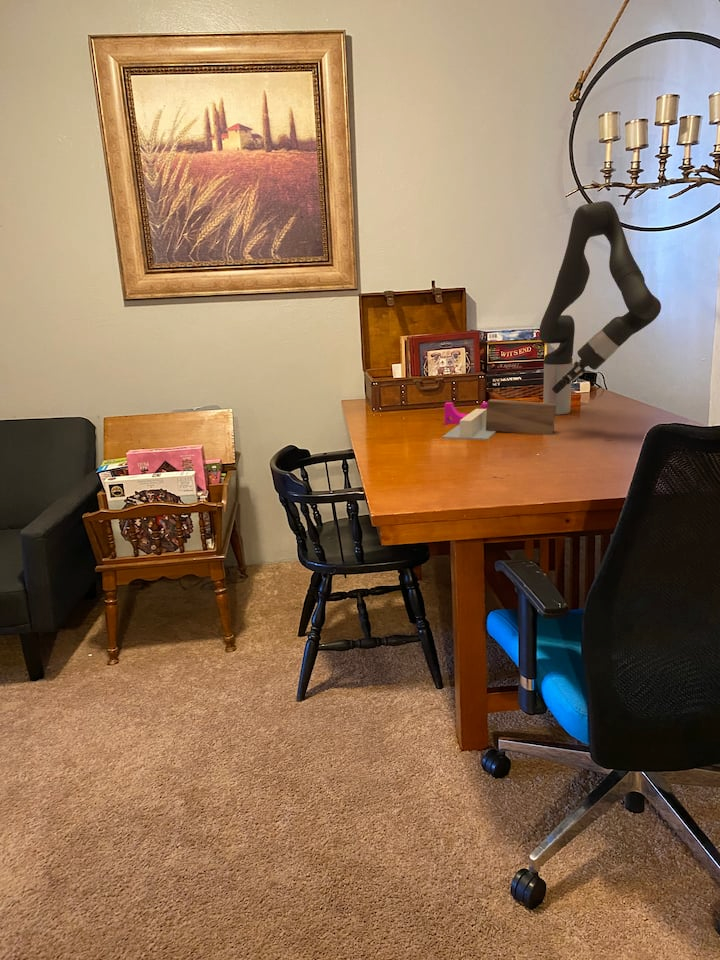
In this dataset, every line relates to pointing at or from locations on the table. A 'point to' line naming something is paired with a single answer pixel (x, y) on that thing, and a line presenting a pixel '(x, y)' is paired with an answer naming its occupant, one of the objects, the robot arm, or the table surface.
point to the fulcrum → (472, 427)
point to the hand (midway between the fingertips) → (556, 389)
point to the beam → (520, 416)
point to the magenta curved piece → (456, 413)
